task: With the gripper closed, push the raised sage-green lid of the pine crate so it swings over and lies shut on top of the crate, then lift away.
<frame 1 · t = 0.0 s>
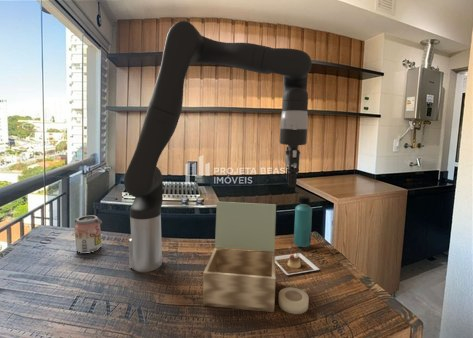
hand: (290, 183, 79), 29 cm above the table, tool pointing down, fingers open, 8 cm apart
beverage can: (89, 249, 100), on the table
beverage bottle: (301, 247, 105), on the table
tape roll: (293, 304, 71), on the table
crate: (241, 292, 76), on the table
lid: (245, 226, 81), point 16 cm above the table, hinge at 100.0°
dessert: (293, 266, 91), on the table
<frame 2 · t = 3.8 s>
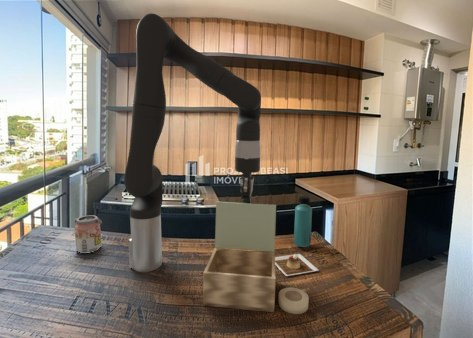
hand: (246, 211, 84), 20 cm above the table, tool pointing down, fingers closed
lid: (245, 226, 81), point 16 cm above the table, hinge at 97.1°, touching gripper
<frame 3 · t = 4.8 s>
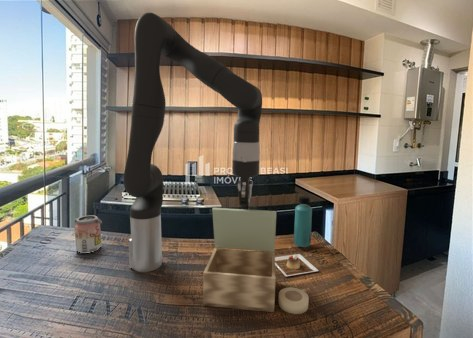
hand: (244, 217, 79), 20 cm above the table, tool pointing down, fingers closed
lid: (244, 230, 78), point 16 cm above the table, hinge at 73.2°, touching gripper
everything else where it was.
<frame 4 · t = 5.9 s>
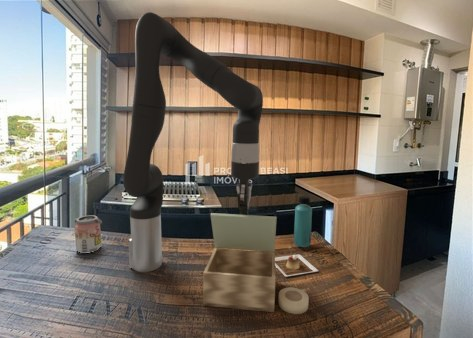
hand: (243, 221, 76), 19 cm above the table, tool pointing down, fingers closed
lid: (243, 233, 77), point 16 cm above the table, hinge at 63.0°, touching gripper
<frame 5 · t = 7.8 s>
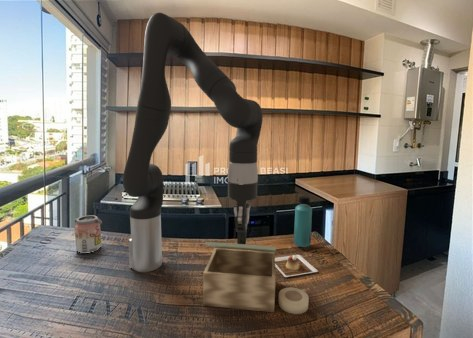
hand: (241, 243, 72), 15 cm above the table, tool pointing down, fingers closed
lid: (242, 247, 75), point 13 cm above the table, hinge at 27.8°, touching gripper
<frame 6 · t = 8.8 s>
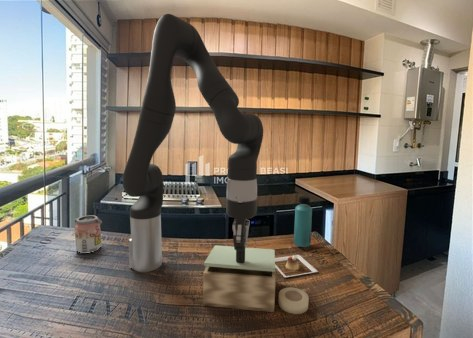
hand: (240, 261, 70), 11 cm above the table, tool pointing down, fingers closed
lid: (241, 257, 74), point 10 cm above the table, hinge at 6.4°, touching gripper
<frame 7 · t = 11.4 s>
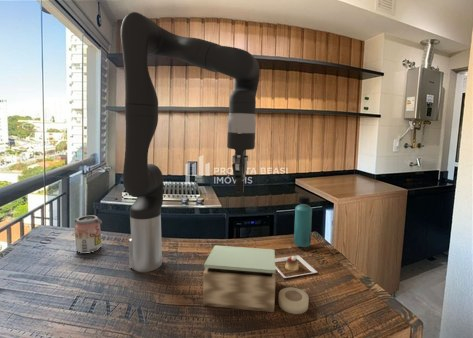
hand: (239, 193, 76), 27 cm above the table, tool pointing down, fingers closed
lid: (241, 257, 74), point 10 cm above the table, hinge at 4.8°
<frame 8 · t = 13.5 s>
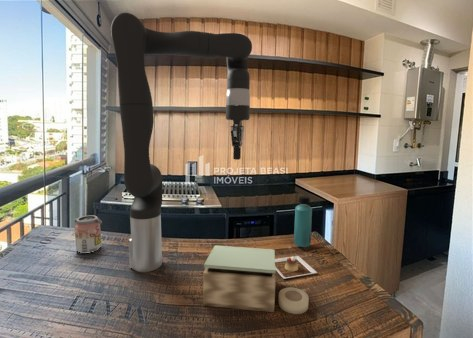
hand: (236, 159, 88), 35 cm above the table, tool pointing down, fingers closed
at the end: lid at +5° (first picture: +100°); lid touching nothing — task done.
